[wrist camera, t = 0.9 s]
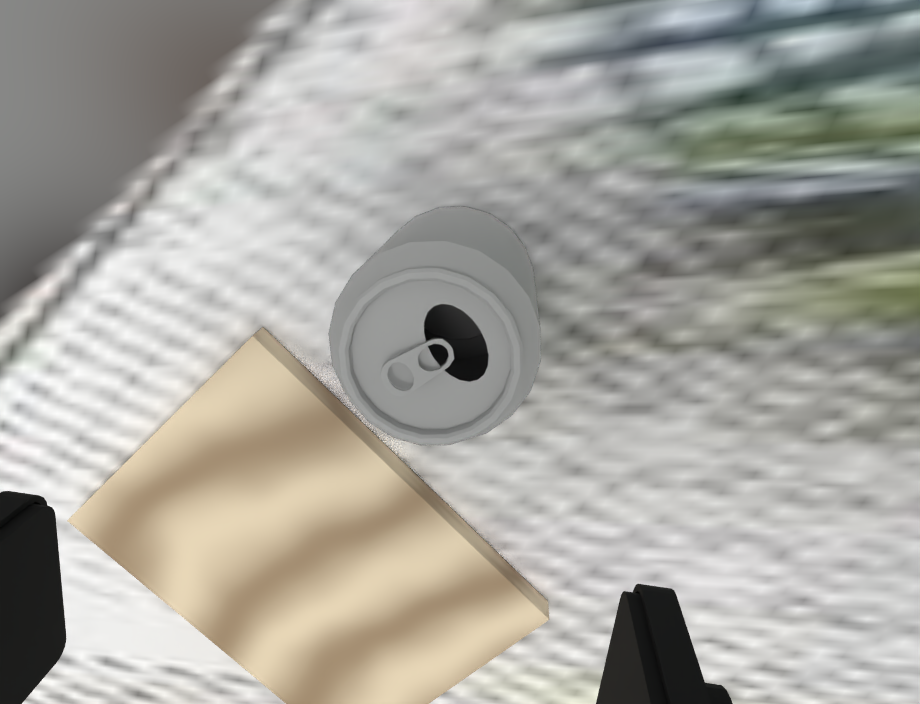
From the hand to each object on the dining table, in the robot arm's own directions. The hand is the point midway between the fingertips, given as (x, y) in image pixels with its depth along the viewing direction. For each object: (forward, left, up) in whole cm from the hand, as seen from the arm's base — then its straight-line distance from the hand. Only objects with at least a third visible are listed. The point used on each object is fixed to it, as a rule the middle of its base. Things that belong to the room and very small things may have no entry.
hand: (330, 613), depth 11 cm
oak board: (-6, +17, -24) cm, 30 cm away
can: (0, 0, -24) cm, 24 cm away
